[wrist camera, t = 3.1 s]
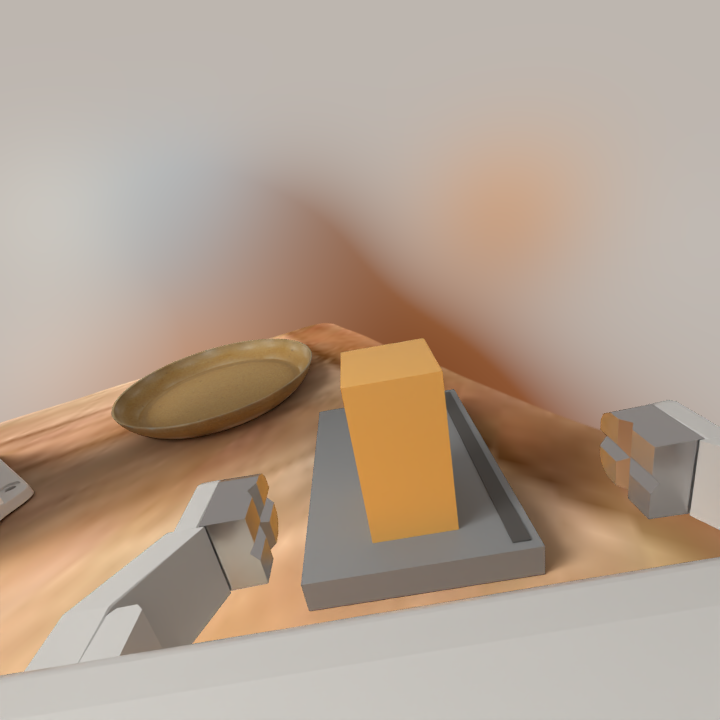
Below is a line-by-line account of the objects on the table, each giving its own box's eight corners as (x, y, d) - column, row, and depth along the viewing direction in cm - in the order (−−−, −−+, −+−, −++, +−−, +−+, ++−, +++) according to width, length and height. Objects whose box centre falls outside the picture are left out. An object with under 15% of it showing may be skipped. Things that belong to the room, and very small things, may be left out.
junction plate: (545, 573, 22) (544, 450, 19) (309, 611, 23) (273, 495, 20) (455, 407, 40) (448, 329, 37) (323, 429, 40) (306, 354, 37)
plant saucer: (132, 486, 37) (118, 456, 36) (114, 404, 57) (104, 382, 56) (352, 388, 49) (347, 362, 47) (274, 347, 68) (269, 328, 67)
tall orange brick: (372, 543, 24) (340, 388, 20) (367, 486, 28) (340, 352, 25) (458, 529, 24) (442, 370, 20) (439, 474, 28) (423, 338, 25)
